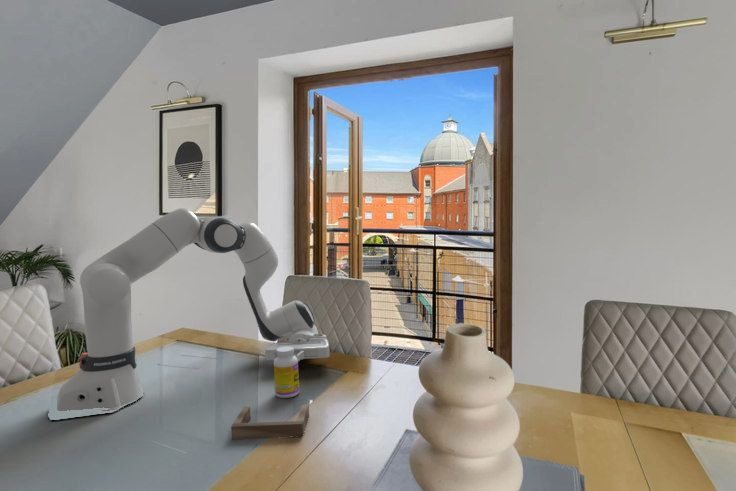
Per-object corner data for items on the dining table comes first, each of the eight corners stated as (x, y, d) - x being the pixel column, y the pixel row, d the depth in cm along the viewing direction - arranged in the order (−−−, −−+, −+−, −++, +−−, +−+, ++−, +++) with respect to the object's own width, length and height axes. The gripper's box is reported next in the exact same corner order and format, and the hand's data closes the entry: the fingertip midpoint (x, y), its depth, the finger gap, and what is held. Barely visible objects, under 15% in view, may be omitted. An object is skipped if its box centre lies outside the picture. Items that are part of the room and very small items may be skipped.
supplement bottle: (297, 398, 119) (294, 352, 118) (273, 399, 120) (270, 353, 119) (301, 388, 126) (298, 344, 125) (278, 389, 126) (275, 345, 125)
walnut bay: (244, 418, 109) (243, 406, 109) (309, 416, 109) (308, 404, 109) (231, 439, 99) (231, 426, 99) (302, 436, 99) (302, 423, 99)
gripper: (269, 337, 147) (259, 350, 133) (330, 334, 147) (326, 347, 133) (270, 355, 148) (260, 370, 134) (331, 352, 147) (327, 367, 134)
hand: (294, 359), depth 134 cm, fingers closed
